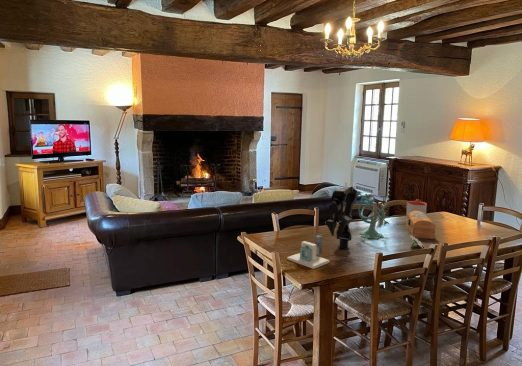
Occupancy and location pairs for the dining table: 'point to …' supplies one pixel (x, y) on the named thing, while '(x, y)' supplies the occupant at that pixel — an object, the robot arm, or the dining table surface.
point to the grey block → (318, 245)
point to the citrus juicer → (416, 206)
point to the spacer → (307, 253)
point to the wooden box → (420, 225)
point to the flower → (415, 241)
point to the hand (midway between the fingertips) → (337, 234)
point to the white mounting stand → (315, 259)
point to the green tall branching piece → (371, 232)
